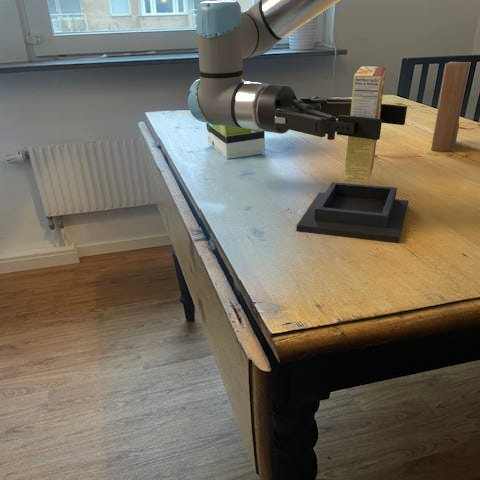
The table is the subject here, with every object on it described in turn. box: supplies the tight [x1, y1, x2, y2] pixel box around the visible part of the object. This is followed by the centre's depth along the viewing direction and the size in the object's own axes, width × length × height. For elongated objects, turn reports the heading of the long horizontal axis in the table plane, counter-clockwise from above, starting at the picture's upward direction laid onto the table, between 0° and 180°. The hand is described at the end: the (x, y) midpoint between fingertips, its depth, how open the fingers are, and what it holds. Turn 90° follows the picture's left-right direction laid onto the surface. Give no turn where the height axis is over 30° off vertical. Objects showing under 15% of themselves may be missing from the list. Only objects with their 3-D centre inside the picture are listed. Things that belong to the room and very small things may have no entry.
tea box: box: [205, 78, 266, 160], centre depth 118 cm, size 15×10×15 cm, turn 21°
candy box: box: [343, 66, 387, 183], centre depth 78 cm, size 9×4×15 cm, turn 163°
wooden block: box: [430, 61, 471, 153], centre depth 113 cm, size 9×4×18 cm, turn 154°
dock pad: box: [295, 181, 409, 244], centre depth 84 cm, size 16×16×3 cm
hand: (393, 122), depth 75 cm, fingers closed on candy box, 9 cm apart
